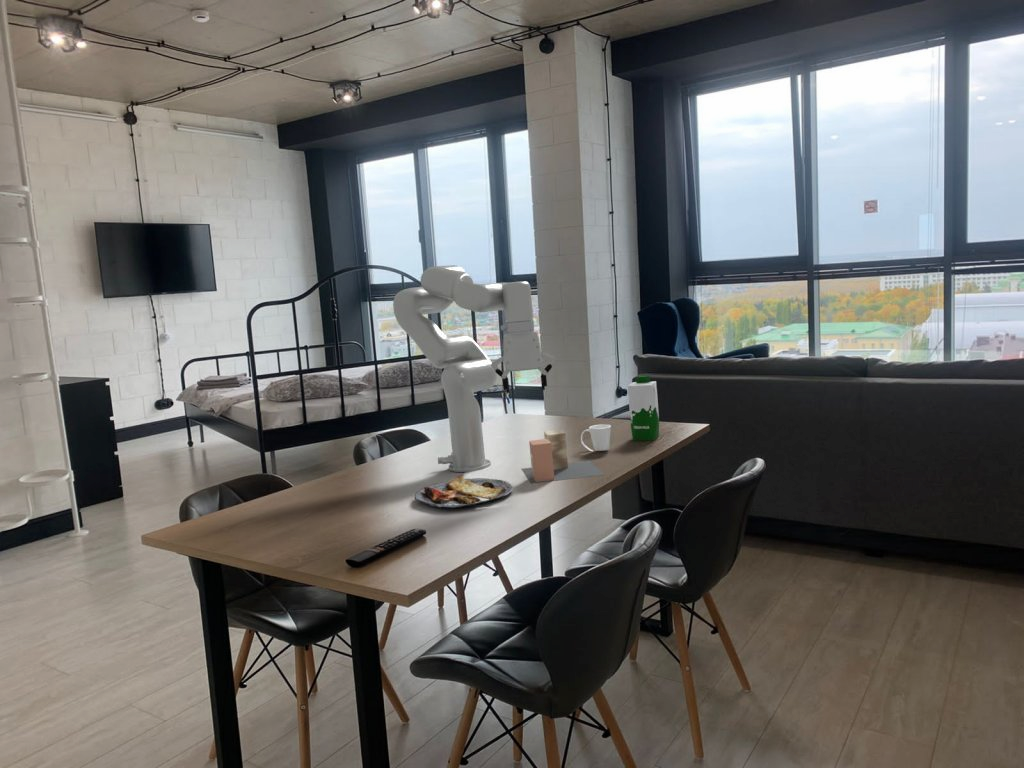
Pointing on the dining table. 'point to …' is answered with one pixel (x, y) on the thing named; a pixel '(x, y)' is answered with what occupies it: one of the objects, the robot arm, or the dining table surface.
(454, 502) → the food plate
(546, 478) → the terracotta block
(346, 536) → the dining table surface
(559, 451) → the beech block
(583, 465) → the rubber mat
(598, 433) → the cup
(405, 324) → the robot arm
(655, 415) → the milk carton
